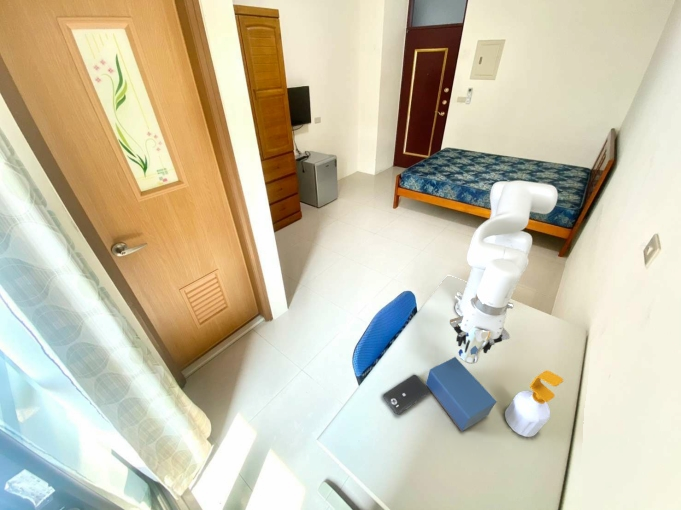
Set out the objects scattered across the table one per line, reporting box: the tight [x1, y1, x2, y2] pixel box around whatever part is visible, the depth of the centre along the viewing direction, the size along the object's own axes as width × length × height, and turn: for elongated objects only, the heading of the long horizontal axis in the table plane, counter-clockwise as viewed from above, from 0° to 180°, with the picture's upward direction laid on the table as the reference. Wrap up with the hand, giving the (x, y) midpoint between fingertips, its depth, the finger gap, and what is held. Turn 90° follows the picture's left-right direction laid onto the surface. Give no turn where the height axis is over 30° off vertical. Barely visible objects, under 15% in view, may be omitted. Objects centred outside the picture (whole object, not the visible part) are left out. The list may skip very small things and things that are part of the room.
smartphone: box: [382, 374, 430, 416], centre depth 95 cm, size 8×15×1 cm, turn 121°
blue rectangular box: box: [425, 356, 497, 432], centre depth 91 cm, size 17×11×10 cm, turn 25°
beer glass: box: [457, 326, 491, 365], centre depth 82 cm, size 7×7×15 cm
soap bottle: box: [504, 370, 564, 438], centre depth 81 cm, size 9×9×25 cm
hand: (471, 345), depth 83 cm, fingers closed on beer glass, 6 cm apart
